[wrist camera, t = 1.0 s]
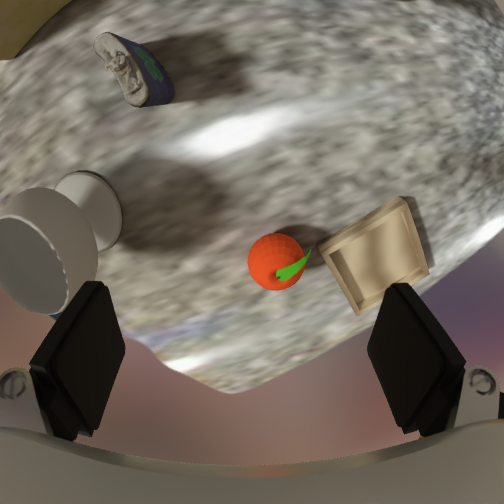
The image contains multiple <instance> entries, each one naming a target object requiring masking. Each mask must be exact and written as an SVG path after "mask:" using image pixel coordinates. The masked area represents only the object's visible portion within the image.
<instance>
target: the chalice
mask: <svg viewBox="0 0 504 504" xmlns="http://www.w3.org/2000/svg"><path fill="white" fill-rule="evenodd" d="M121 228H122V211H121V207H120V204H119V201H118V199H117V197H116V195H115V193H114V191H113V190H112V189H111V188H110V186H109V185H108V184H107V183H106V182H105V181H104V180H102V179H101V178H100V177H98V176H96V175H94V174H92V173H88V172H84V171H80V172H73V173H70V174H67V175H66V176H65V177H63V178H62V179H61V180H60V181H59V182H58V184H57V185H56V187H55V189H54V190H52V189H48V188H40V187H38V188H30V189H27V190H25V191H23V192H21V193H19V194H17V195H16V196H14V197H13V198H12V199H11V200H10V201H9V202H8V203H7V204H6V205H5V206H4V207H3V209H2V210H1V211H0V283H1V285H2V287H3V288H4V289H5V291H6V292H7V293H8V294H9V295H10V296H11V297H12V298H13V299H14V301H16V302H17V303H18V304H19V305H21V306H22V307H24V308H25V309H27V310H29V311H31V312H34V313H36V314H40V315H51V314H57V313H59V312H62V311H64V309H65V308H66V307H67V305H68V304H69V302H70V301H71V300H72V298H73V297H74V296H75V294H76V293H77V292H78V290H79V289H80V288H81V286H82V285H83V284H84V282H85V281H94V279H95V277H96V272H97V267H98V252H102V251H105V250H107V249H109V248H110V247H111V246H112V245H113V244H114V243H115V242H116V240H117V239H118V237H119V234H120V231H121Z"/></svg>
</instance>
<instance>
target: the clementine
mask: <svg viewBox="0 0 504 504" xmlns="http://www.w3.org/2000/svg"><path fill="white" fill-rule="evenodd" d="M310 252H311V249H310V251H309V253H308V254H307V255H306V256H305V257H304V253H303V250H302V248H301V247H300V245H299V244H298V243H297V241H296V240H294V239H293V238H292V237H290V236H287V235H285V234H280V233H272V234H268V235H265V236H263V237H261V238H260V239H259V240H257V241H256V242H255V243H254V245H253V246H252V247H251V250H250V252H249V255H248V268H249V272H250V274H251V276H252V278H253V279H254V280H255V281H256V282H257V283H258V284H259V285H260V286H262V287H263V288H266V289H269V290H284V289H286V288H289V287H291V286H292V285H294V284H295V283H296V282H297V281H298V280H299V279H300V277H301V275H302V273H303V271H304V267H305V263H306V262H307V260H308V258H309V256H310Z"/></svg>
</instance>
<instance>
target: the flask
mask: <svg viewBox="0 0 504 504" xmlns="http://www.w3.org/2000/svg"><path fill="white" fill-rule="evenodd" d="M93 47H94V50H95V52H96V54H98V56H100V57H101V58H102V59H103V60H104V61H105V70H106V71H108V67H109V68H110V69H111V70H112V72H113V73H114V75H115V77H116V78H117V80H118V82H119V84H120V86H121V88H122V91H123V95H124V97H125V99H126V101H127V102H128V103H129V104H130V105H132V106H134V107H139V108H142V107H149V106H154V105H165V104H169V103H170V102H171V101H172V100H173V99H174V98H175V91H174V86H173V84H172V82H171V80H170V77H168V74H167V72H166V71H165V70H164V67H163V66H162V65H161V64H160V63H159V62H158V61H157V60H156V58H155V57H154V56H153V55H152V53H151V52H149V51H148V50H147V49H146V48H145V47H143V46H142V45H140V44H137V43H135V42H132V41H130V40H128V39H125V38H122V37H120V36H118V35H115V34H113V33H110V32H105V33H102V34H101V35H99V36H98V37H97V39H96V40H95V42H94V45H93Z"/></svg>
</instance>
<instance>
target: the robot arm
mask: <svg viewBox="0 0 504 504" xmlns="http://www.w3.org/2000/svg"><path fill="white" fill-rule="evenodd" d="M367 352H368V355H369V358H370V360H371V362H372V365H373V367H374V369H375V372H376V374H377V376H378V379H379V381H380V383H381V386H382V388H383V391H384V393H385V396H386V398H387V401H388V403H389V406H390V408H391V411H392V414H393V416H394V419H395V421H396V424H397V426H399V427H401V428H402V430H403V433H404V434H407V433H411V432H414V431H417V430H419V432H420V437H419V439H418V440H415V441H411V442H407V443H404V444H400V445H397V446H393V447H389V448H385V449H381V450H376V451H372V452H367V453H362V454H357V455H352V456H346V457H340V458H334V459H327V460H319V461H311V462H301V463H290V464H275V465H208V464H192V463H181V462H172V461H163V460H156V459H148V458H143V457H136V456H131V455H126V454H121V453H116V452H111V451H107V450H103V449H98V448H94V447H90V446H86V445H82V444H78V443H77V441H76V438H77V435H78V434H81V435H85V436H88V437H92V435H93V431H94V430H97V429H98V428H99V425H100V422H101V419H102V416H103V413H104V410H105V406H106V404H107V401H108V398H109V395H110V392H111V389H112V387H113V384H114V381H115V379H116V376H117V373H118V370H119V368H120V365H121V363H122V360H123V357H124V355H125V343H124V340H123V337H122V334H121V331H120V328H119V324H118V321H117V318H116V314H115V311H114V307H113V303H112V300H111V296H110V292H109V289H108V287H107V286H104V284H103V282H101V281H85V282H84V284H83V285H82V286H81V288H80V289H79V290H78V292H77V293H76V294H75V296H74V297H73V298H72V300H71V301H70V302H69V304H68V305H67V307H66V308H65V309H64V311H63V312H62V314H61V315H60V317H59V318H58V319H57V321H56V322H55V324H54V325H53V327H52V328H51V330H50V331H49V333H48V334H47V336H46V337H45V339H44V340H43V342H42V343H41V345H40V347H39V348H38V350H37V351H36V353H35V355H34V356H33V358H32V359H31V361H30V363H29V364H30V366H31V369H30V370H29V372H28V371H27V370H26V369H24V368H22V367H13V368H10V369H8V370H6V371H4V372H3V373H2V374H1V375H0V504H504V393H502V392H500V385H499V381H498V379H497V377H496V375H495V374H494V373H493V372H492V371H491V370H489V369H488V368H486V367H484V366H480V365H474V366H471V367H469V368H468V369H467V370H465V369H464V365H465V363H466V360H465V359H464V357H463V356H462V354H461V353H460V352H459V350H458V349H457V347H456V346H455V344H454V343H453V341H452V340H451V339H450V337H449V336H448V334H447V333H446V331H445V330H444V329H443V327H442V326H441V325H440V323H439V322H438V321H437V319H436V318H435V317H434V315H433V314H432V313H431V311H430V310H429V309H428V307H427V306H426V305H425V303H424V302H423V301H422V300H421V299H420V297H419V296H418V294H417V293H416V292H415V291H414V289H413V288H412V287H411V286H410V284H408V283H406V282H405V283H392V284H391V285H390V287H388V288H387V289H386V290H385V293H384V297H383V300H382V303H381V307H380V310H379V313H378V316H377V319H376V322H375V325H374V328H373V331H372V334H371V337H370V340H369V342H368V346H367Z"/></svg>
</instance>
